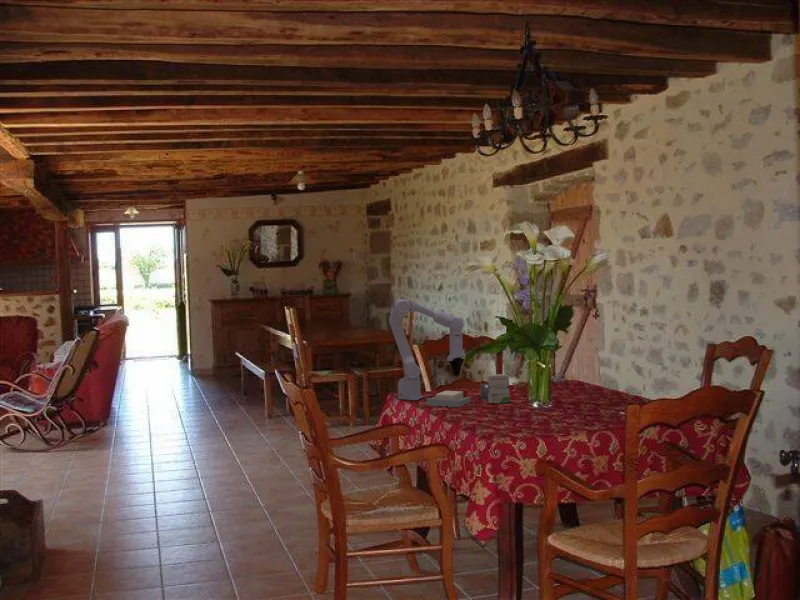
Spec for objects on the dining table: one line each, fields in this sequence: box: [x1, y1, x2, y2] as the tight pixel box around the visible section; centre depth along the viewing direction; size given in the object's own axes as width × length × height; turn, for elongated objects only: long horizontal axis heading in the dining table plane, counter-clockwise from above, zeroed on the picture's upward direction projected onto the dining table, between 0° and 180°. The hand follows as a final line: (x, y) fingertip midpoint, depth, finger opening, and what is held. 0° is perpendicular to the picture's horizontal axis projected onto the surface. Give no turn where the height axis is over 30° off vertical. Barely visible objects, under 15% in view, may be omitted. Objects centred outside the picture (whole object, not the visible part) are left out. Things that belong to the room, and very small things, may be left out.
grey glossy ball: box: [479, 383, 488, 400], centre depth 381 cm, size 6×6×6 cm
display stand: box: [426, 396, 471, 408], centre depth 369 cm, size 14×12×3 cm
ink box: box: [486, 373, 511, 404], centre depth 371 cm, size 9×5×12 cm, turn 94°
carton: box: [435, 390, 464, 400], centre depth 370 cm, size 8×10×5 cm
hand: (456, 375), depth 388 cm, fingers closed
